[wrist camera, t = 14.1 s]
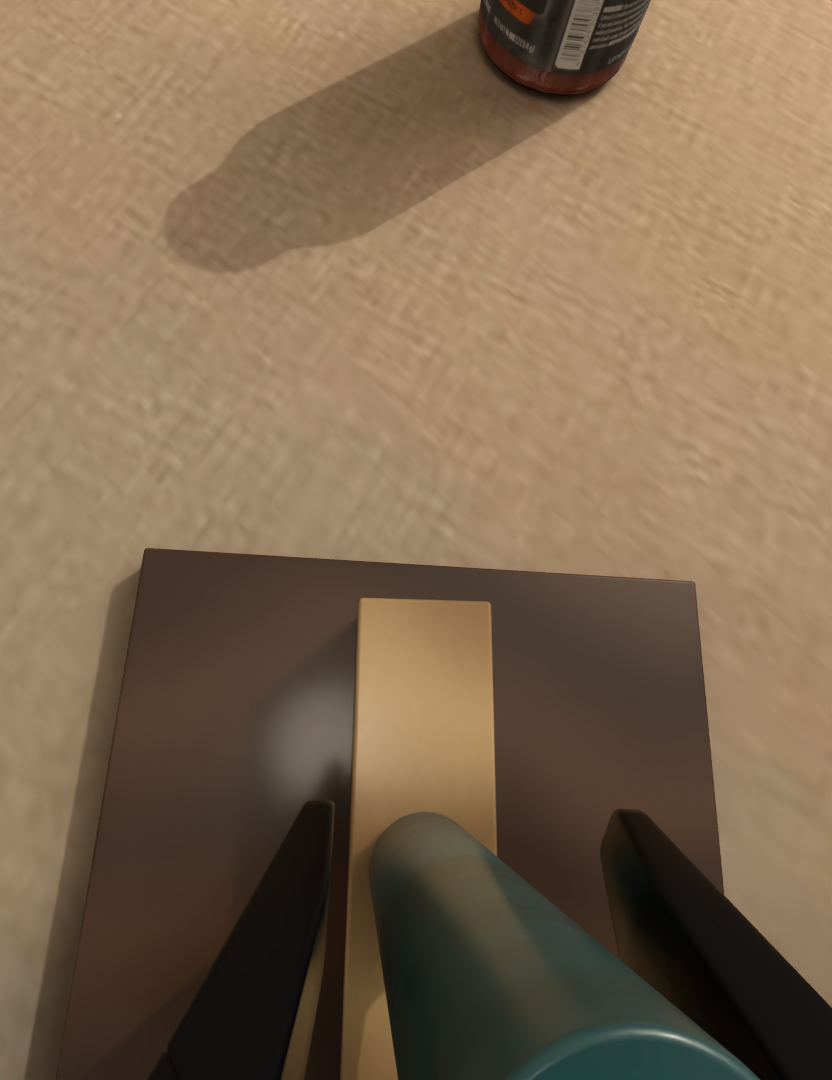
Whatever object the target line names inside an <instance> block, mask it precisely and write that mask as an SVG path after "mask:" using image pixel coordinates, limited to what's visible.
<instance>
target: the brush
mask: <svg viewBox="0 0 832 1080" xmlns="http://www.w3.org/2000/svg"><path fill="white" fill-rule="evenodd" d="M340 1080H760V1079H759V1078H758V1077H757V1076H756V1075H755V1074H754V1073H753V1072H752V1071H751V1070H750V1069H749V1068H748V1067H747V1066H746V1065H744V1064H743V1063H742V1062H741V1061H740V1060H739V1059H738V1058H736V1057H735V1056H734V1055H733V1054H732V1053H730V1052H729V1051H728V1050H727V1049H726V1048H724V1047H723V1046H722V1045H721V1044H720V1043H718V1042H717V1041H716V1040H715V1039H714V1038H713V1037H711V1036H710V1035H709V1034H708V1033H707V1032H705V1031H704V1030H703V1029H702V1028H701V1027H699V1026H698V1025H697V1024H696V1023H695V1022H693V1021H692V1020H691V1019H690V1018H689V1017H687V1016H686V1015H685V1014H684V1013H683V1012H682V1011H680V1010H679V1009H678V1008H677V1007H676V1006H674V1005H673V1004H672V1003H671V1002H670V1001H668V1000H667V999H666V998H665V997H664V996H662V995H661V994H660V993H659V992H658V991H656V990H655V989H654V988H653V987H652V986H651V985H649V984H648V983H647V982H646V981H645V980H643V979H642V978H641V977H640V976H639V975H637V974H636V973H635V972H634V971H633V970H631V969H630V968H629V967H628V966H627V965H625V964H624V963H623V962H622V961H621V960H620V959H618V958H617V957H616V956H615V955H614V954H612V953H611V952H610V951H609V950H608V949H606V948H605V947H604V946H603V945H602V944H600V943H599V942H598V941H597V940H596V939H594V938H593V937H592V936H591V935H590V934H589V933H587V932H586V931H585V930H584V929H583V928H581V927H580V926H579V925H578V924H577V923H575V922H574V921H573V920H572V919H571V918H569V917H568V916H567V915H566V914H565V913H563V912H562V911H561V910H560V909H559V908H558V907H556V906H555V905H554V904H553V903H552V902H550V901H549V900H548V899H547V898H546V897H544V896H543V895H542V894H541V893H540V892H538V891H537V890H536V889H535V888H534V887H532V886H531V885H530V884H529V883H528V882H527V881H525V880H524V879H523V878H522V877H521V876H519V875H518V874H517V873H516V872H515V871H513V870H512V869H511V868H510V867H509V866H507V865H506V864H505V863H504V862H503V861H501V860H500V859H499V858H498V857H497V828H496V786H495V744H494V702H493V661H492V619H491V604H490V603H489V602H486V601H453V600H421V599H389V598H361V599H360V600H359V602H358V613H357V632H356V659H355V686H354V712H353V739H352V765H351V792H350V819H349V845H348V872H347V899H346V925H345V952H344V978H343V1005H342V1032H341V1058H340Z"/></svg>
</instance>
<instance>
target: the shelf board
mask: <svg viewBox="0 0 832 1080" xmlns="http://www.w3.org/2000/svg"><path fill="white" fill-rule="evenodd" d="M361 598H389V599H421V600H453V601H486V602H489V603H490V604H491V619H492V661H493V702H494V744H495V786H496V828H497V857H498V858H499V859H500V860H501V861H503V862H504V863H505V864H506V865H507V866H509V867H510V868H511V869H512V870H513V871H515V872H516V873H517V874H518V875H519V876H521V877H522V878H523V879H524V880H525V881H527V882H528V883H529V884H530V885H531V886H532V887H534V888H535V889H536V890H537V891H538V892H540V893H541V894H542V895H543V896H544V897H546V898H547V899H548V900H549V901H550V902H552V903H553V904H554V905H555V906H556V907H558V908H559V909H560V910H561V911H562V912H563V913H565V914H566V915H567V916H568V917H569V918H571V919H572V920H573V921H574V922H575V923H577V924H578V925H579V926H580V927H581V928H583V929H584V930H585V931H586V932H587V933H589V934H590V935H591V936H592V937H593V938H594V939H596V940H597V941H598V942H599V943H600V944H602V945H603V946H604V947H605V948H606V949H608V950H609V951H610V952H611V953H612V954H614V955H615V956H616V957H617V958H618V959H619V954H618V949H617V944H616V939H615V934H614V928H613V923H612V918H611V913H610V907H609V902H608V897H607V892H606V886H605V881H604V876H603V871H602V865H601V859H600V847H601V842H602V840H603V837H604V834H605V831H606V828H607V826H608V823H609V820H610V817H611V815H612V813H613V812H614V811H615V810H616V809H637V810H641V811H643V812H644V813H646V814H647V815H648V816H649V817H650V818H651V819H652V820H653V821H654V822H655V823H656V824H657V825H658V826H659V828H660V829H661V830H662V831H663V832H664V833H665V834H666V835H667V836H668V837H669V838H670V839H671V840H672V841H673V842H674V843H675V844H676V845H677V846H678V847H679V848H680V850H681V851H682V852H683V853H684V854H685V855H686V856H687V857H688V858H689V859H690V860H691V861H692V862H693V863H694V864H695V865H696V866H697V867H698V868H699V869H700V870H701V872H702V873H703V874H704V875H705V876H706V877H707V878H708V879H709V880H710V881H711V882H712V883H713V884H714V885H715V886H716V887H717V888H718V889H719V890H720V891H721V892H722V894H723V895H724V888H723V877H722V867H721V856H720V845H719V835H718V824H717V813H716V803H715V792H714V781H713V771H712V760H711V749H710V739H709V728H708V717H707V707H706V696H705V685H704V675H703V664H702V653H701V642H700V632H699V621H698V610H697V600H696V589H695V583H694V582H692V581H676V580H660V579H643V578H627V577H611V576H594V575H578V574H562V573H546V572H529V571H513V570H497V569H480V568H464V567H448V566H431V565H415V564H399V563H383V562H366V561H350V560H334V559H317V558H301V557H285V556H268V555H252V554H236V553H219V552H203V551H187V550H171V549H154V548H146V549H145V550H144V554H143V560H142V566H141V572H140V578H139V584H138V590H137V596H136V602H135V608H134V614H133V620H132V626H131V632H130V638H129V644H128V650H127V656H126V662H125V668H124V674H123V680H122V686H121V692H120V698H119V704H118V710H117V716H116V722H115V728H114V734H113V740H112V746H111V752H110V758H109V764H108V770H107V776H106V782H105V787H104V793H103V799H102V805H101V811H100V817H99V823H98V829H97V835H96V841H95V847H94V853H93V859H92V865H91V871H90V877H89V883H88V889H87V895H86V901H85V907H84V913H83V919H82V925H81V931H80V937H79V943H78V949H77V955H76V961H75V967H74V973H73V979H72V985H71V991H70V997H69V1003H68V1009H67V1015H66V1021H65V1027H64V1033H63V1039H62V1045H61V1051H60V1057H59V1062H58V1068H57V1074H56V1080H146V1078H147V1076H148V1075H149V1073H150V1071H151V1069H152V1068H153V1066H154V1064H155V1063H156V1061H157V1059H158V1057H159V1056H160V1054H161V1053H162V1052H164V1051H165V1052H167V1051H166V1044H167V1042H168V1041H169V1039H170V1037H171V1035H172V1034H173V1032H174V1030H175V1028H176V1027H177V1025H178V1023H179V1021H180V1020H181V1018H182V1016H183V1014H184V1013H185V1011H186V1009H187V1007H188V1006H189V1004H190V1002H191V1000H192V999H193V997H194V995H195V993H196V992H197V990H198V988H199V986H200V985H201V983H202V981H203V979H204V978H205V976H206V974H207V972H208V971H209V969H210V967H211V965H212V964H213V962H214V960H215V958H216V957H217V955H218V953H219V952H220V950H221V948H222V946H223V945H224V943H225V941H226V939H227V938H228V936H229V934H230V932H231V931H232V929H233V927H234V925H235V924H236V922H237V920H238V918H239V917H240V915H241V913H242V911H243V910H244V908H245V906H246V904H247V903H248V901H249V899H250V897H251V896H252V894H253V892H254V890H255V889H256V887H257V885H258V883H259V882H260V880H261V878H262V876H263V875H264V873H265V871H266V870H267V868H268V866H269V864H270V863H271V861H272V859H273V857H274V856H275V854H276V852H277V850H278V849H279V847H280V845H281V843H282V842H283V840H284V838H285V836H286V835H287V833H288V831H289V829H290V828H291V826H292V824H293V822H294V821H295V819H296V817H297V815H298V814H299V812H300V810H301V808H302V807H303V805H304V804H305V803H306V802H307V801H310V800H318V801H332V802H333V803H334V805H335V814H334V831H333V848H332V862H331V876H330V890H329V904H328V918H327V932H326V946H325V957H324V967H323V975H322V981H321V988H320V994H319V999H318V1005H317V1010H316V1016H315V1021H314V1027H313V1032H312V1038H311V1044H310V1049H309V1055H308V1060H307V1066H306V1071H305V1077H304V1080H340V1058H341V1032H342V1005H343V978H344V952H345V925H346V899H347V872H348V845H349V819H350V792H351V765H352V739H353V712H354V686H355V659H356V632H357V613H358V602H359V600H360V599H361Z"/></svg>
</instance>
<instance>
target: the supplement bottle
mask: <svg viewBox="0 0 832 1080" xmlns="http://www.w3.org/2000/svg"><path fill="white" fill-rule="evenodd" d="M650 1H651V0H481V3H480V10H479V18H478V23H479V33H480V38H481V41H482V43H483V45H484V48H485V50H486V52H487V54H488V55H489V56H490V58H491V59H492V60H493V62H494V63H495V64H496V65H497V66H498V67H499V68H500V69H501V70H502V71H503V72H504V73H506V74H508V75H509V77H511V78H513V79H514V80H515V81H517V82H519V83H522V84H523V85H525V86H527V87H530V88H534V89H537V90H539V91H542V92H549V93H555V94H561V95H563V94H578V93H584V92H587V91H590V90H591V89H595V88H597V87H599V86H601V85H603V84H604V83H605V82H607V81H608V80H610V79H611V78H612V77H613V76H614V75H615V74H616V73H617V72H618V70H619V69H620V67H621V66H622V64H623V63H624V61H625V59H626V56H627V54H628V51H629V49H630V47H631V45H632V43H633V41H634V39H635V37H636V34H637V32H638V29H639V27H640V24H641V22H642V20H643V17H644V15H645V13H646V10H647V8H648V6H649V3H650Z"/></svg>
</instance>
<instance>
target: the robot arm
mask: <svg viewBox="0 0 832 1080" xmlns="http://www.w3.org/2000/svg"><path fill="white" fill-rule="evenodd" d="M334 814H335V805H334V803H333V802H332V801H318V800H310V801H307V802H306V803H305V804H304V805H303V807H302V808H301V810H300V812H299V814H298V815H297V817H296V819H295V821H294V822H293V824H292V826H291V828H290V829H289V831H288V833H287V835H286V836H285V838H284V840H283V842H282V843H281V845H280V847H279V849H278V850H277V852H276V854H275V856H274V857H273V859H272V861H271V863H270V864H269V866H268V868H267V870H266V871H265V873H264V875H263V876H262V878H261V880H260V882H259V883H258V885H257V887H256V889H255V890H254V892H253V894H252V896H251V897H250V899H249V901H248V903H247V904H246V906H245V908H244V910H243V911H242V913H241V915H240V917H239V918H238V920H237V922H236V924H235V925H234V927H233V929H232V931H231V932H230V934H229V936H228V938H227V939H226V941H225V943H224V945H223V946H222V948H221V950H220V952H219V953H218V955H217V957H216V958H215V960H214V962H213V964H212V965H211V967H210V969H209V971H208V972H207V974H206V976H205V978H204V979H203V981H202V983H201V985H200V986H199V988H198V990H197V992H196V993H195V995H194V997H193V999H192V1000H191V1002H190V1004H189V1006H188V1007H187V1009H186V1011H185V1013H184V1014H183V1016H182V1018H181V1020H180V1021H179V1023H178V1025H177V1027H176V1028H175V1030H174V1032H173V1034H172V1035H171V1037H170V1039H169V1041H168V1042H167V1044H166V1051H167V1052H165V1051H164V1052H162V1053H161V1054H160V1056H159V1057H158V1059H157V1061H156V1063H155V1064H154V1066H153V1068H152V1069H151V1071H150V1073H149V1075H148V1076H147V1078H146V1080H304V1077H305V1071H306V1066H307V1060H308V1055H309V1049H310V1044H311V1038H312V1032H313V1027H314V1021H315V1016H316V1010H317V1005H318V999H319V994H320V988H321V981H322V975H323V967H324V957H325V946H326V932H327V918H328V904H329V890H330V876H331V862H332V848H333V831H334ZM600 859H601V865H602V871H603V876H604V881H605V886H606V892H607V897H608V902H609V907H610V913H611V918H612V923H613V928H614V934H615V939H616V944H617V949H618V954H619V959H620V960H621V961H622V962H623V963H624V964H625V965H627V966H628V967H629V968H630V969H631V970H633V971H634V972H635V973H636V974H637V975H639V976H640V977H641V978H642V979H643V980H645V981H646V982H647V983H648V984H649V985H651V986H652V987H653V988H654V989H655V990H656V991H658V992H659V993H660V994H661V995H662V996H664V997H665V998H666V999H667V1000H668V1001H670V1002H671V1003H672V1004H673V1005H674V1006H676V1007H677V1008H678V1009H679V1010H680V1011H682V1012H683V1013H684V1014H685V1015H686V1016H687V1017H689V1018H690V1019H691V1020H692V1021H693V1022H695V1023H696V1024H697V1025H698V1026H699V1027H701V1028H702V1029H703V1030H704V1031H705V1032H707V1033H708V1034H709V1035H710V1036H711V1037H713V1038H714V1039H715V1040H716V1041H717V1042H718V1043H720V1044H721V1045H722V1046H723V1047H724V1048H726V1049H727V1050H728V1051H729V1052H730V1053H732V1054H733V1055H734V1056H735V1057H736V1058H738V1059H739V1060H740V1061H741V1062H742V1063H743V1064H744V1065H746V1066H747V1067H748V1068H749V1069H750V1070H751V1071H752V1072H753V1073H754V1074H755V1075H756V1076H757V1077H758V1078H759V1079H760V1080H832V1008H831V1007H830V1006H829V1005H828V1003H827V1002H826V1001H825V1000H824V999H823V998H822V997H821V996H820V995H819V994H818V993H817V992H816V991H815V990H814V989H813V988H812V987H811V986H810V985H809V984H808V983H807V981H806V980H805V979H804V978H803V977H802V976H801V975H800V974H799V973H798V972H797V971H796V970H795V969H794V968H793V967H792V966H791V965H790V964H789V963H788V962H787V961H786V959H785V958H784V957H783V956H782V955H781V954H780V953H779V952H778V951H777V950H776V949H775V948H774V947H773V946H772V945H771V944H770V943H769V942H768V941H767V940H766V939H765V937H764V936H763V935H762V934H761V933H760V932H759V931H758V930H757V929H756V928H755V927H754V926H753V925H752V924H751V923H750V922H749V921H748V920H747V919H746V918H745V917H744V915H743V914H742V913H741V912H740V911H739V910H738V909H737V908H736V907H735V906H734V905H733V904H732V903H731V902H730V901H729V900H728V899H727V898H726V897H725V896H724V895H723V894H722V892H721V891H720V890H719V889H718V888H717V887H716V886H715V885H714V884H713V883H712V882H711V881H710V880H709V879H708V878H707V877H706V876H705V875H704V874H703V873H702V872H701V870H700V869H699V868H698V867H697V866H696V865H695V864H694V863H693V862H692V861H691V860H690V859H689V858H688V857H687V856H686V855H685V854H684V853H683V852H682V851H681V850H680V848H679V847H678V846H677V845H676V844H675V843H674V842H673V841H672V840H671V839H670V838H669V837H668V836H667V835H666V834H665V833H664V832H663V831H662V830H661V829H660V828H659V826H658V825H657V824H656V823H655V822H654V821H653V820H652V819H651V818H650V817H649V816H648V815H647V814H646V813H644V812H643V811H641V810H637V809H616V810H615V811H614V812H613V813H612V815H611V817H610V820H609V823H608V826H607V828H606V831H605V834H604V837H603V840H602V842H601V847H600Z"/></svg>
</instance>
